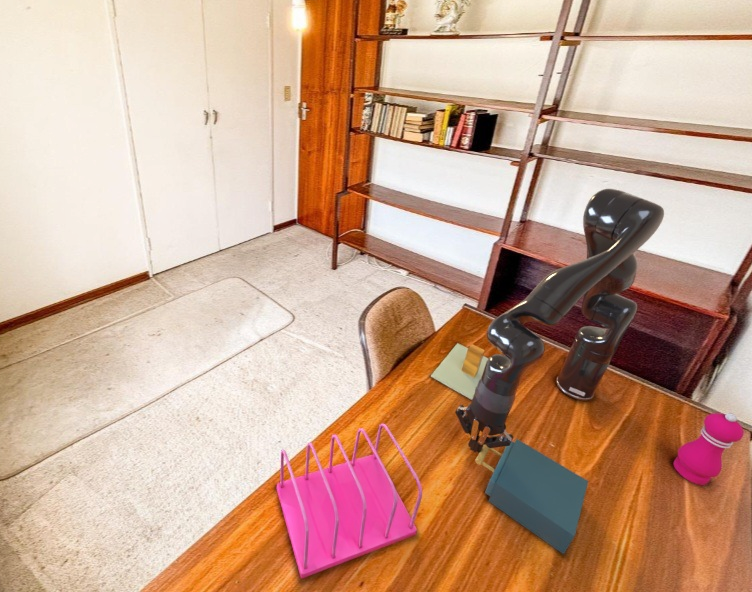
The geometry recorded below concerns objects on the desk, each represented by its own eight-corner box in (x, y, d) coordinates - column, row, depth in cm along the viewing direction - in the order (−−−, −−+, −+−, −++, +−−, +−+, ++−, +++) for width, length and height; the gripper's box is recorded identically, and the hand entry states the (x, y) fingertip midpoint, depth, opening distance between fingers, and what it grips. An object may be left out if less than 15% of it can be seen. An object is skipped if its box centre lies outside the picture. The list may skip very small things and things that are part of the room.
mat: (457, 344, 133) (457, 343, 133) (507, 369, 123) (507, 367, 123) (430, 376, 120) (431, 375, 119) (484, 407, 110) (484, 405, 110)
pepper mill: (718, 490, 91) (766, 432, 82) (682, 483, 92) (726, 425, 84) (696, 461, 97) (739, 404, 89) (663, 455, 99) (702, 398, 90)
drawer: (466, 479, 90) (470, 466, 88) (486, 441, 99) (491, 428, 97) (552, 540, 80) (560, 527, 78) (566, 491, 89) (574, 478, 87)
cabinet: (488, 501, 87) (495, 482, 84) (509, 456, 97) (516, 438, 94) (563, 554, 78) (574, 536, 75) (577, 499, 88) (588, 481, 85)
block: (465, 365, 123) (471, 343, 119) (478, 372, 121) (485, 350, 117) (461, 371, 121) (467, 348, 117) (474, 378, 119) (481, 355, 115)
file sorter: (276, 488, 88) (277, 441, 81) (375, 457, 95) (384, 412, 89) (300, 579, 73) (304, 532, 66) (416, 535, 81) (430, 488, 74)
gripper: (530, 405, 86) (508, 456, 93) (470, 372, 93) (453, 422, 101) (520, 427, 81) (497, 479, 88) (457, 390, 88) (441, 441, 96)
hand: (474, 448), depth 95 cm, fingers closed
